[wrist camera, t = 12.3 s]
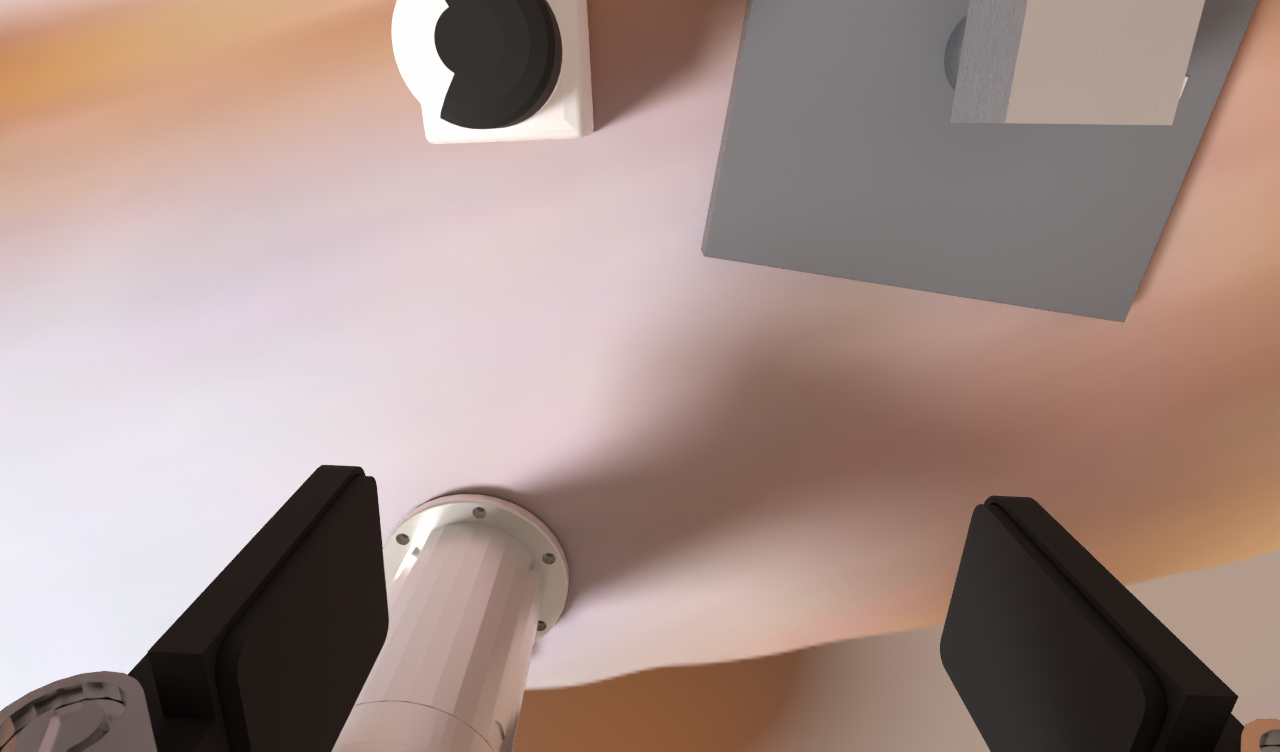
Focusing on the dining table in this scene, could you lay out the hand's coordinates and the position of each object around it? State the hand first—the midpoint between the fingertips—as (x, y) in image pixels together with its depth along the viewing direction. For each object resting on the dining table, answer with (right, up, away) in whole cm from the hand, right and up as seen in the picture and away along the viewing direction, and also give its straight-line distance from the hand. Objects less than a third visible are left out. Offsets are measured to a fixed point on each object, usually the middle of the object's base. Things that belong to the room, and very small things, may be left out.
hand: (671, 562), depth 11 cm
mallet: (+17, +20, +18) cm, 32 cm away
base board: (+17, +20, +25) cm, 36 cm away
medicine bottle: (-7, +19, +25) cm, 33 cm away
